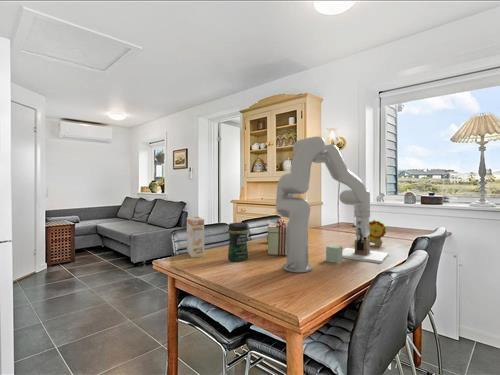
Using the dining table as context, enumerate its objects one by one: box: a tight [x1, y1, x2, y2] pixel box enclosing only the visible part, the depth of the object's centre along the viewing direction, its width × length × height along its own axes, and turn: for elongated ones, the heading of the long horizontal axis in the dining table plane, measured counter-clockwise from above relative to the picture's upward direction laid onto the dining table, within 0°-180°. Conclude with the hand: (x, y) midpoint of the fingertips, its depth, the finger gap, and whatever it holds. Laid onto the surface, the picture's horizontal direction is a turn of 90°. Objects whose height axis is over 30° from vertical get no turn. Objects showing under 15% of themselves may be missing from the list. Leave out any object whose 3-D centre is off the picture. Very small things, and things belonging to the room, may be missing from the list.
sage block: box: [325, 244, 343, 264], centre depth 141 cm, size 6×6×7 cm
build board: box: [342, 247, 390, 264], centre depth 149 cm, size 18×22×1 cm
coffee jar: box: [227, 222, 249, 262], centre depth 144 cm, size 10×8×19 cm
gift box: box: [267, 219, 288, 256], centre depth 160 cm, size 17×18×17 cm
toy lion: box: [360, 219, 387, 247], centre depth 174 cm, size 16×5×15 cm, turn 58°
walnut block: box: [354, 238, 371, 256], centre depth 149 cm, size 6×6×7 cm
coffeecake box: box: [186, 216, 206, 259], centre depth 156 cm, size 15×7×20 cm, turn 22°
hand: (362, 248), depth 149 cm, fingers open, 6 cm apart
